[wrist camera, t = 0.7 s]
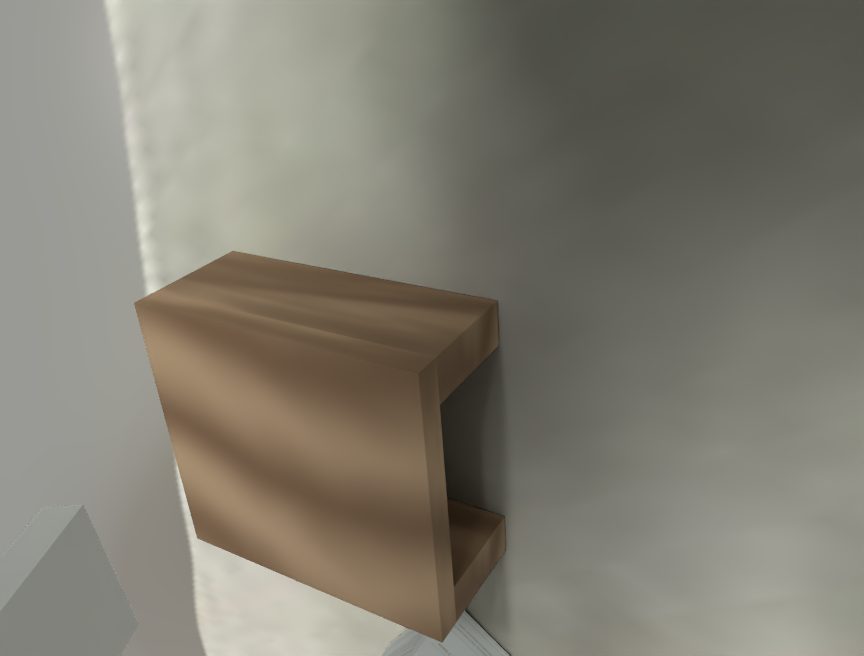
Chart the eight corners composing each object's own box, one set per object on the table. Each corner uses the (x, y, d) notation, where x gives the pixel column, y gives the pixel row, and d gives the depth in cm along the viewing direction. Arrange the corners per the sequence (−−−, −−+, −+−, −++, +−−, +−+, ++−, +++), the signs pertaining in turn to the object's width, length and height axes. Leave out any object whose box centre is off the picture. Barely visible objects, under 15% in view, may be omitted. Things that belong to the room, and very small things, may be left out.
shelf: (232, 251, 38) (134, 303, 34) (497, 300, 32) (418, 373, 27) (276, 469, 44) (197, 538, 40) (505, 549, 38) (442, 643, 33)
